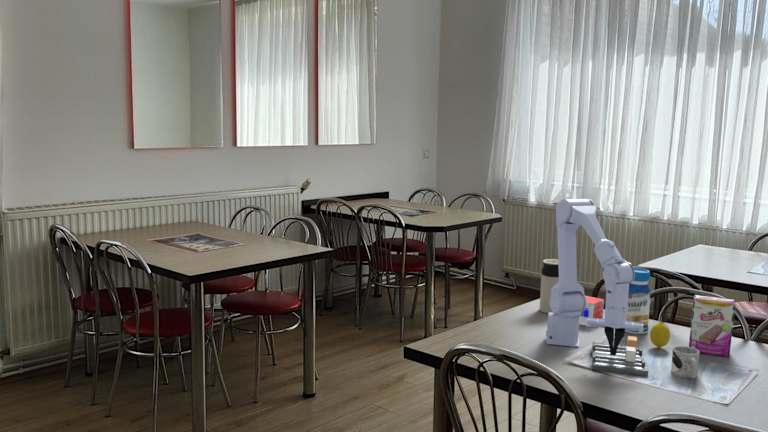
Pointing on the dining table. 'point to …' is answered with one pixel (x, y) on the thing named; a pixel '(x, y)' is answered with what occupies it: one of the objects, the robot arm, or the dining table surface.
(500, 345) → the dining table surface
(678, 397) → the dining table surface
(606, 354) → the console
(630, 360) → the block
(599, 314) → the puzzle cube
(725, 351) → the candy bar box
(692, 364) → the mug
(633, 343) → the block
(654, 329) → the lemon
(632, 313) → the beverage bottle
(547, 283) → the travel mug
